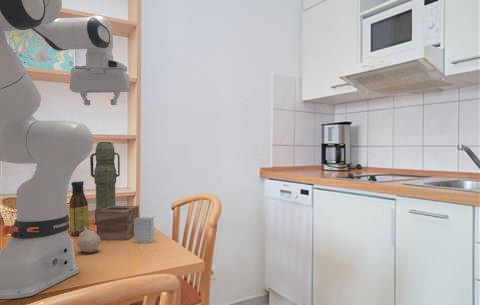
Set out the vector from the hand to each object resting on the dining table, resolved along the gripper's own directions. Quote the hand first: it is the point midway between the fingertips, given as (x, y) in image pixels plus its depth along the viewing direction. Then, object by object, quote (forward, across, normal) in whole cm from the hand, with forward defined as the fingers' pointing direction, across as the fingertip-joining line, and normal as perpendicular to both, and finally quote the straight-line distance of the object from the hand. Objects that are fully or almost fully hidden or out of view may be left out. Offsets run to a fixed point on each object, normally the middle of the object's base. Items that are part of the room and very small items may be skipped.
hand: (100, 105), depth 114 cm
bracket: (+47, +16, -2) cm, 50 cm away
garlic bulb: (+48, +2, -14) cm, 49 cm away
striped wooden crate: (+47, +4, +5) cm, 48 cm away
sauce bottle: (+48, -12, +8) cm, 50 cm away
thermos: (+47, -11, +27) cm, 55 cm away
